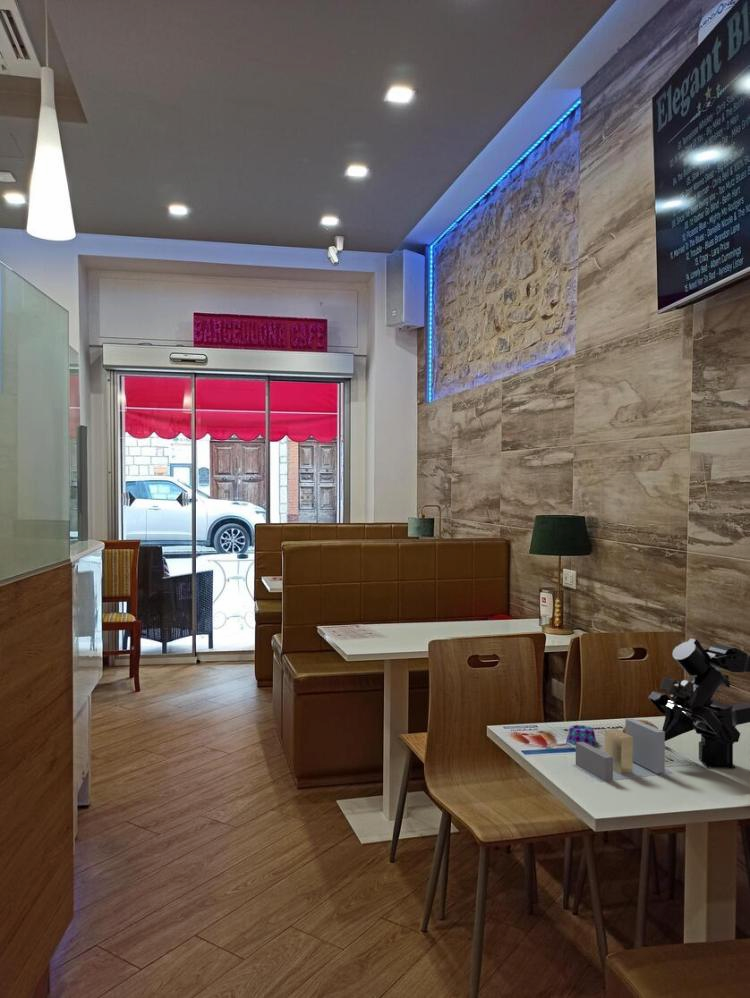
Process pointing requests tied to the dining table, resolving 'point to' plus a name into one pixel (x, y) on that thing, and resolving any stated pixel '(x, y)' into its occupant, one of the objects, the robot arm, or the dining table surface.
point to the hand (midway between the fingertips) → (662, 739)
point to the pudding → (580, 735)
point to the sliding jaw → (647, 745)
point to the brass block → (620, 750)
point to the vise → (605, 765)
